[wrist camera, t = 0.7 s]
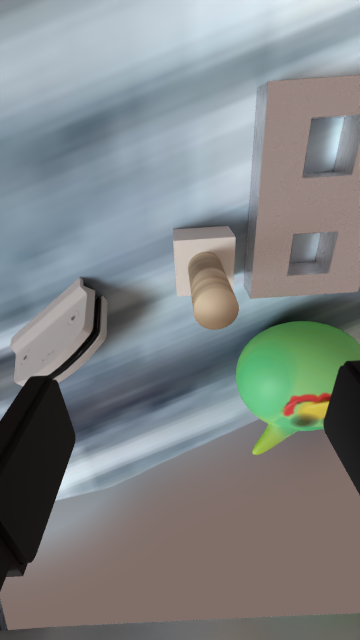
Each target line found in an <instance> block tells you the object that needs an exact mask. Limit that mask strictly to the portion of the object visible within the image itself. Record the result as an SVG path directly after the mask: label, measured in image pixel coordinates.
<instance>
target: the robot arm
mask: <svg viewBox="0 0 360 640" xmlns="http://www.w3.org/2000/svg"><path fill="white" fill-rule="evenodd" d="M323 426H324V430H325V433H326V435H327V437H328V438H329V440H330V442H331V444H332V446H333V447H334V449H335V451H336V453H337V455H338V457H339V458H340V460H341V462H342V464H343V465H344V467H345V469H346V471H347V473H348V475H349V476H350V478H351V480H352V482H353V483H354V485H355V487H356V489H357V491H358V492H359V494H360V360H355V361H346V362H345V363H344V365H343V366H340V368H339V370H338V374H337V377H336V380H335V384H334V387H333V391H332V394H331V398H330V401H329V404H328V408H327V411H326V415H325V418H324V422H323ZM74 444H75V432H74V429H73V426H72V423H71V420H70V417H69V414H68V411H67V408H66V405H65V402H64V399H63V396H62V394H61V391H60V388H59V385H58V382H57V380H55V379H54V380H53V379H52V377H51V376H49V375H45V376H31V377H30V378H29V379H28V380H27V381H26V383H25V384H24V386H23V387H22V389H21V390H20V392H19V394H18V395H17V397H16V398H15V400H14V401H13V403H12V404H11V406H10V407H9V409H8V410H7V412H6V413H5V415H4V416H3V418H2V419H1V421H0V590H1V588H2V585H3V583H4V580H5V578H6V577H14V576H23V575H24V572H25V569H26V567H27V564H28V563H30V562H32V561H33V560H34V558H35V556H36V553H37V551H38V548H39V545H40V542H41V539H42V536H43V533H44V530H45V528H46V525H47V522H48V519H49V516H50V513H51V510H52V508H53V504H54V502H55V499H56V496H57V493H58V490H59V487H60V485H61V482H62V479H63V476H64V473H65V470H66V467H67V464H68V462H69V459H70V456H71V453H72V450H73V447H74ZM0 640H360V613H356V614H330V615H304V616H280V617H257V618H233V619H210V620H188V621H165V622H144V623H124V624H105V625H104V624H103V625H82V626H63V627H46V628H32V629H18V630H8V629H7V625H6V621H5V616H4V612H3V608H2V604H1V599H0Z"/></svg>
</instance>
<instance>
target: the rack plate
mask: <svg viewBox="0 0 360 640" xmlns="http://www.w3.org/2000/svg"><path fill="white" fill-rule="evenodd" d="M336 117H345V118H344V123H343V128H342V132H341V137H340V142H339V147H338V152H337V157H336V162H335V167H334V171H333V172H320V173H305V174H303V170H304V164H305V157H306V151H307V144H308V138H309V131H310V125H311V119H322V118H336ZM318 232H321V235H320V240H319V245H318V250H317V254H316V259H315V262H303V263H289V261H290V254H291V248H292V241H293V235H294V234H303V233H318ZM359 286H360V75H353V76H339V77H324V78H310V79H295V80H280V81H268V82H267V83H265V84H263V85H262V86H260V87H258V88H257V97H256V112H255V126H254V141H253V156H252V170H251V185H250V199H249V214H248V229H247V243H246V258H245V273H244V287H245V289H246V291H247V293H248V295H249V297H250V299H252V298H267V297H283V296H299V295H315V294H331V293H346V292H358V289H359Z"/></svg>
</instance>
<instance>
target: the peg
mask: <svg viewBox="0 0 360 640" xmlns="http://www.w3.org/2000/svg"><path fill="white" fill-rule="evenodd" d="M188 274H189V281H190V289H191V296H192V303H193V311H194V317H195V319H196V321H197V322H198V323H199V324H200V325H201V326H203V327H205V328H207V329H212V330H216V329H222V328H225V327H227V326H228V325H230V324H231V323H232V322H233V321H234V320H235V319H236V317H237V315H238V311H239V306H238V302H237V300H236V297H235V295H234V292H233V290H232V288H231V285H230V283H229V280H228V278H227V276H226V273H225V271H224V268H223V266H222V264H221V261H220V259H219V258H218V257H217V256H216V255H215V254H213V253H210V252H202V253H199V254H197V255H195V256H194V257H193V258H192V259H191V260H190V262H189V265H188Z"/></svg>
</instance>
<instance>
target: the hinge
mask: <svg viewBox="0 0 360 640" xmlns="http://www.w3.org/2000/svg"><path fill="white" fill-rule="evenodd" d="M107 302H108V301H107V300H106V298H105V297H104V296H101V297H98V298H97V299H96V294H95V291H94V290H92V289H90V288H87V287H85V286H83V279H82V278H79V279H77V280H76V281H75V282H74V283H73V284H72V285H71V286H70V287H68V288H67V289H66V290H65V291H64V292H63V293H62V294H60V295H59V296H58V297H57V298H56V299H55V300H54V301H53V302H51V303H50V304H49V305H48V306H47V307H46V308H45V309H44V310H42V311H41V312H40V313H39V314H38V315H37V316H36V317H35V318H33V319H32V320H31V321H30V322H29V323H28V324H27V325H26V326H24V327H23V328H22V329H21V330H20V331H19V332H18V333H17V334H15V335H14V336H13V337H12V339H11V344H10V347H11V348H12V350H13V351H14V352H15V353H16V362H15V376H14V382H15V383H17V384H19V385H21V386H24V384H25V383H26V381H27V380H28V379H29V378H30V377H31V376H45V375H49V376H51V377H52V379H53V380H54V379H55V380H57V382H58V383H59V382H61V381H62V380H64V379H65V378H67V377H68V376H70V375H71V374H72V373H74V372H75V371H76V370H77V369H78V368H80V367H81V366H82V365H83V364H84V363H85V362H86V361H87V360H88V359H89V358H90V357H91V356H92V355H93V354H94V353H95V352H96V351H97V349H98V348H99V347H100V346H101V345H102V343H103V342H104V341H105V339H106V336H107Z"/></svg>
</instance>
